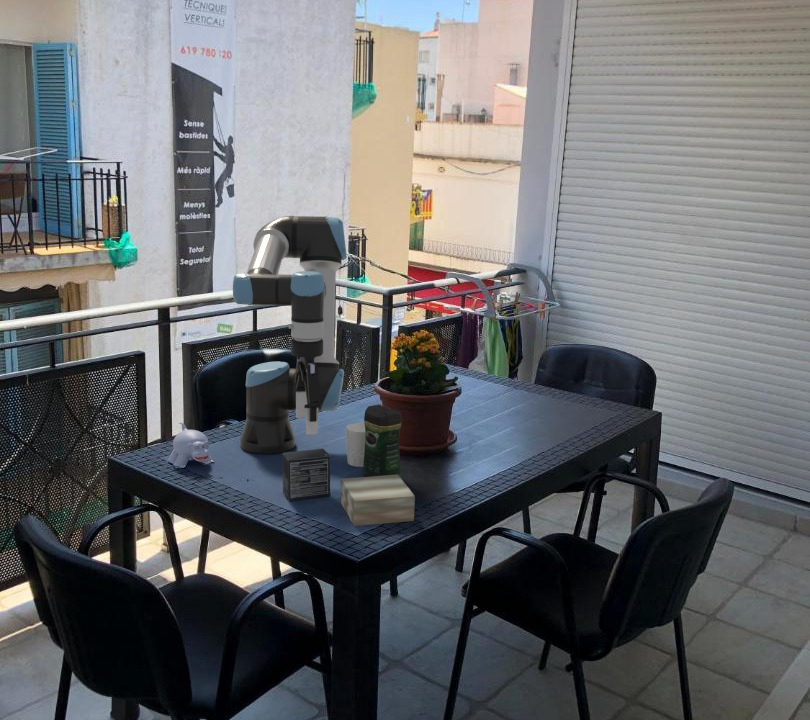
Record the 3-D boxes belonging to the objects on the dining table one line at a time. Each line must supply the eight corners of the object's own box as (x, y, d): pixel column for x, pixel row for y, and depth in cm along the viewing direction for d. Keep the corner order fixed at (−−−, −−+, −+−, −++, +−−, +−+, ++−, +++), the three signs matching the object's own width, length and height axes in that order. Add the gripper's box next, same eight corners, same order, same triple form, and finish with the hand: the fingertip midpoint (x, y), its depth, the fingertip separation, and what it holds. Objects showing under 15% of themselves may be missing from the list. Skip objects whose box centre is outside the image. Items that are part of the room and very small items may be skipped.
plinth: (340, 502, 221) (341, 478, 220) (397, 497, 225) (397, 474, 224) (354, 526, 208) (354, 500, 207) (413, 520, 212) (414, 496, 211)
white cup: (378, 459, 251) (379, 424, 249) (369, 469, 244) (370, 433, 241) (350, 456, 253) (351, 421, 251) (341, 465, 246) (341, 429, 243)
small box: (323, 487, 231) (323, 447, 228) (331, 496, 225) (331, 455, 222) (281, 492, 227) (281, 451, 224) (288, 501, 221) (288, 460, 218)
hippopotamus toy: (183, 476, 235) (182, 440, 233) (162, 459, 247) (161, 425, 245) (223, 469, 241) (222, 434, 239) (201, 452, 253) (200, 419, 251)
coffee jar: (405, 478, 238) (407, 409, 234) (381, 485, 233) (382, 414, 229) (381, 468, 245) (383, 400, 241) (357, 474, 240) (359, 405, 236)
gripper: (282, 328, 227) (282, 411, 232) (300, 350, 204) (300, 442, 209) (313, 327, 229) (312, 410, 234) (334, 349, 206) (333, 440, 211)
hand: (306, 425), depth 221 cm, fingers open, 13 cm apart
